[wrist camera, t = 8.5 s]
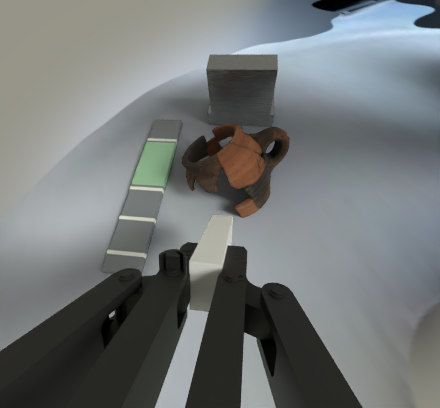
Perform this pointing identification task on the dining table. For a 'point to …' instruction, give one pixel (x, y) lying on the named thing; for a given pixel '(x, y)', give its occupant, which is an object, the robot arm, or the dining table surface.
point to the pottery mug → (237, 162)
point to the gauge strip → (143, 199)
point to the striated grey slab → (241, 89)
